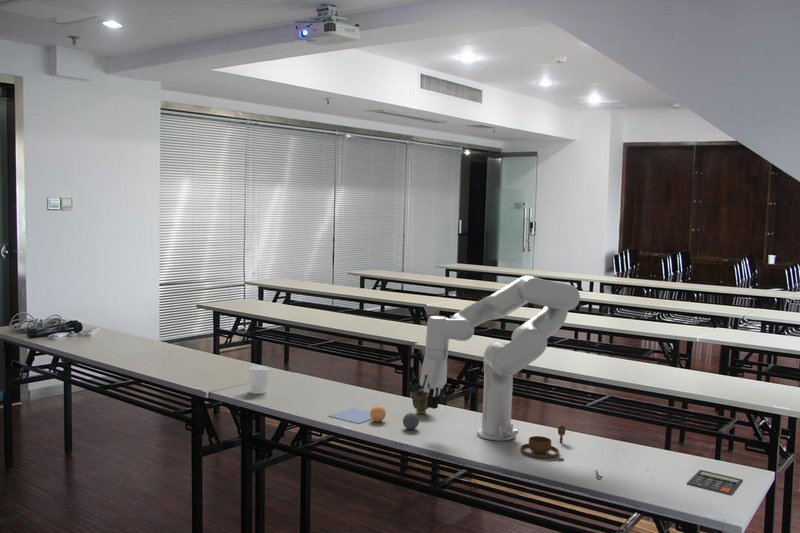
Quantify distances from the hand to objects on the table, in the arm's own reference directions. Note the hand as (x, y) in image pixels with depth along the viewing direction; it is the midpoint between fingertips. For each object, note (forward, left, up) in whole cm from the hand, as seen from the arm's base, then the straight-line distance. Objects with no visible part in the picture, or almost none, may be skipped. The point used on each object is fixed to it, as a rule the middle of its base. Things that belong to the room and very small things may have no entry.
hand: (432, 407), depth 231 cm
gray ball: (+9, +2, -7) cm, 11 cm away
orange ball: (+22, +6, -7) cm, 24 cm away
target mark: (+32, +9, -9) cm, 34 cm away
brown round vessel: (+22, -14, -10) cm, 27 cm away
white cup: (+81, +22, -10) cm, 84 cm away
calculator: (-77, -39, -10) cm, 87 cm away
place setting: (-33, -21, -10) cm, 41 cm away
